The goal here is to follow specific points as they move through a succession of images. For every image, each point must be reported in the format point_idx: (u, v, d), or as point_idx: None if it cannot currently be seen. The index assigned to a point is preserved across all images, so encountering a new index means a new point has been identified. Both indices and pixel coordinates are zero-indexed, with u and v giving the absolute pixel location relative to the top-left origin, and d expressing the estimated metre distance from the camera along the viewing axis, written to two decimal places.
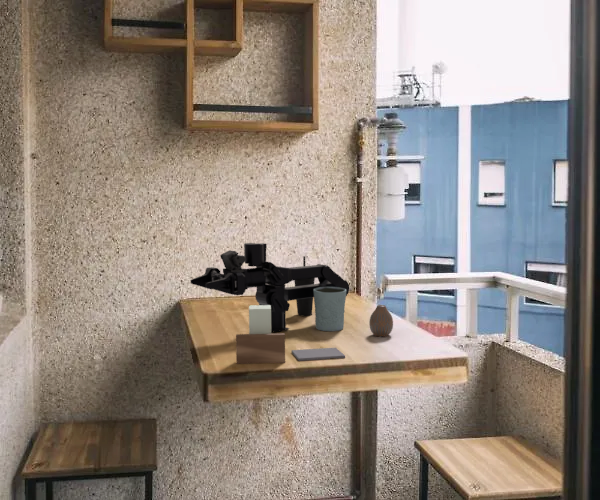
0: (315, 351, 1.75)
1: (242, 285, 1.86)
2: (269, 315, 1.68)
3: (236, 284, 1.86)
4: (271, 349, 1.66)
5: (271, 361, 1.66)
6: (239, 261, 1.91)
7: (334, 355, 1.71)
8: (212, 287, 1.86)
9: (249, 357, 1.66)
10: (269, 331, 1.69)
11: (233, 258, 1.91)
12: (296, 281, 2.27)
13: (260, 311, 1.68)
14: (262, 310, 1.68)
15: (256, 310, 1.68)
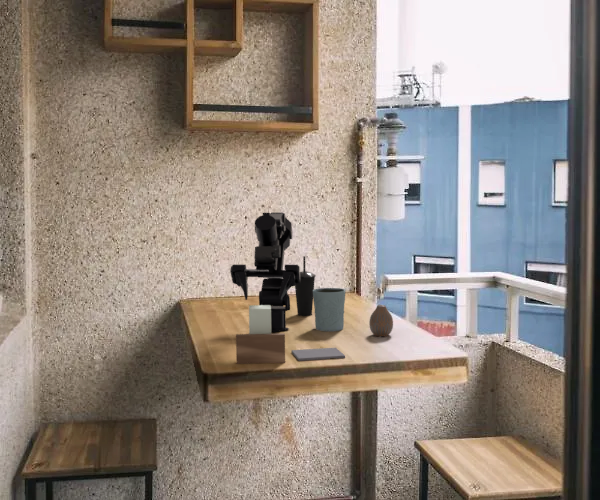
0: (315, 351, 1.75)
1: None
2: (269, 315, 1.68)
3: (296, 277, 1.83)
4: (271, 349, 1.66)
5: (271, 361, 1.66)
6: None
7: (334, 355, 1.71)
8: (283, 295, 1.80)
9: (249, 357, 1.66)
10: (269, 331, 1.69)
11: (275, 255, 1.80)
12: None
13: (260, 311, 1.68)
14: (262, 310, 1.68)
15: (256, 310, 1.68)
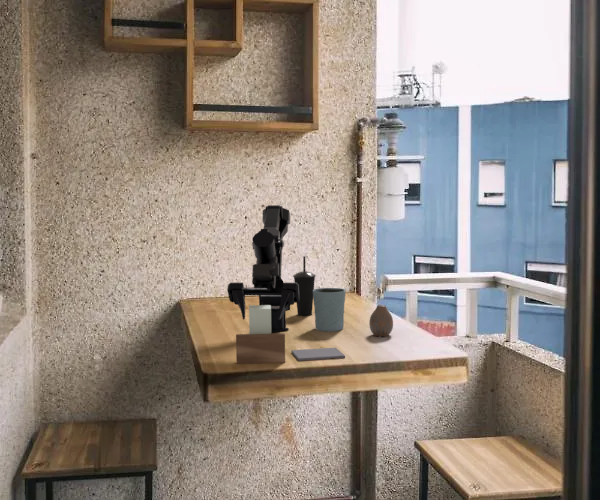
0: (315, 351, 1.75)
1: None
2: (269, 315, 1.68)
3: (295, 295, 1.77)
4: (271, 349, 1.66)
5: (271, 361, 1.66)
6: (278, 271, 1.76)
7: (334, 355, 1.71)
8: (282, 315, 1.74)
9: (249, 357, 1.66)
10: (269, 331, 1.69)
11: (273, 273, 1.74)
12: (296, 281, 2.27)
13: (260, 311, 1.68)
14: (262, 310, 1.68)
15: (256, 310, 1.68)
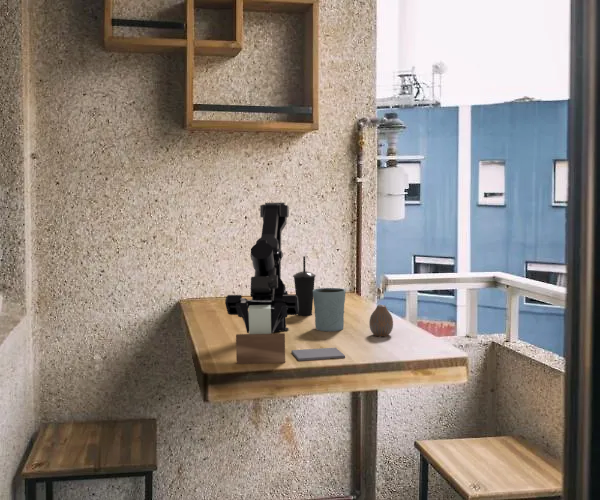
0: (315, 351, 1.75)
1: None
2: (269, 315, 1.68)
3: (294, 308, 1.74)
4: (271, 349, 1.66)
5: (271, 361, 1.66)
6: (277, 283, 1.72)
7: (334, 355, 1.71)
8: (275, 328, 1.71)
9: (249, 357, 1.66)
10: (269, 331, 1.69)
11: (272, 285, 1.71)
12: (296, 281, 2.27)
13: (260, 311, 1.68)
14: (262, 310, 1.68)
15: (256, 310, 1.68)
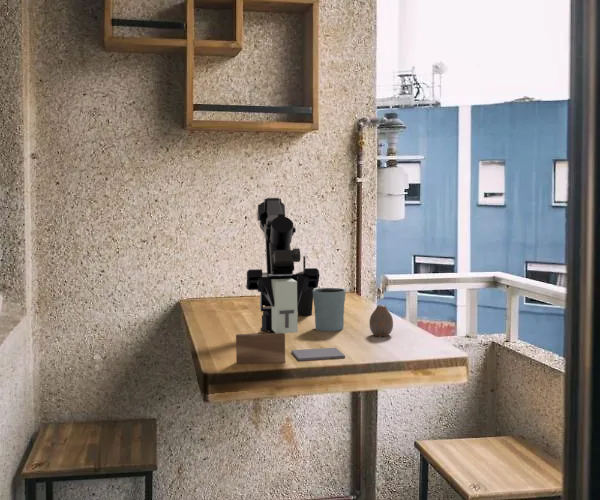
0: (315, 351, 1.75)
1: None
2: (295, 288, 1.69)
3: (315, 281, 1.76)
4: (271, 349, 1.66)
5: (271, 361, 1.66)
6: None
7: (334, 355, 1.71)
8: None
9: (249, 357, 1.66)
10: (295, 304, 1.69)
11: (296, 258, 1.71)
12: None
13: (286, 284, 1.68)
14: (288, 283, 1.68)
15: (282, 283, 1.68)
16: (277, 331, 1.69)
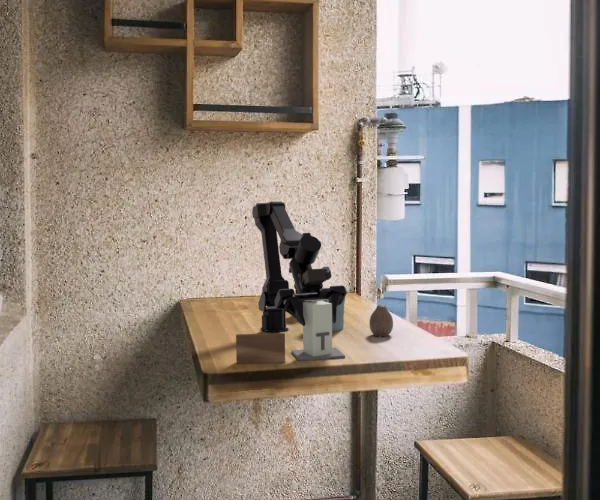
0: None
1: None
2: (330, 310, 1.71)
3: (341, 298, 1.79)
4: (271, 349, 1.66)
5: (271, 361, 1.66)
6: None
7: (334, 355, 1.71)
8: None
9: (249, 357, 1.66)
10: (330, 326, 1.71)
11: (327, 277, 1.74)
12: None
13: (322, 306, 1.70)
14: (324, 305, 1.70)
15: (319, 306, 1.70)
16: (314, 354, 1.70)
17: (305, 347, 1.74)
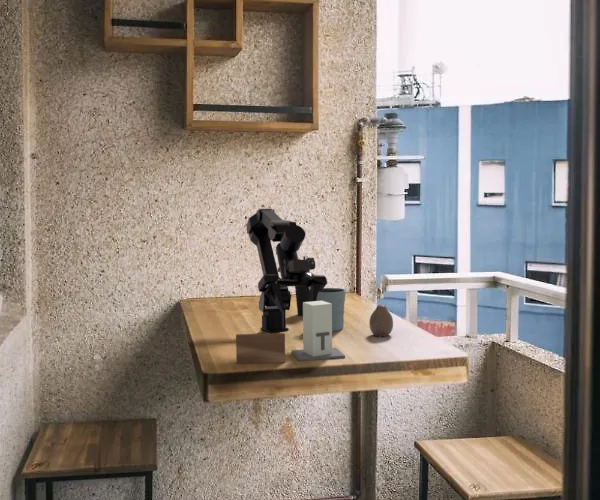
0: None
1: None
2: (330, 310, 1.71)
3: None
4: (271, 349, 1.66)
5: (271, 361, 1.66)
6: None
7: (334, 355, 1.71)
8: None
9: (249, 357, 1.66)
10: (330, 326, 1.71)
11: (311, 268, 1.82)
12: None
13: (322, 306, 1.70)
14: (324, 305, 1.70)
15: (319, 306, 1.70)
16: (314, 354, 1.70)
17: (305, 347, 1.74)
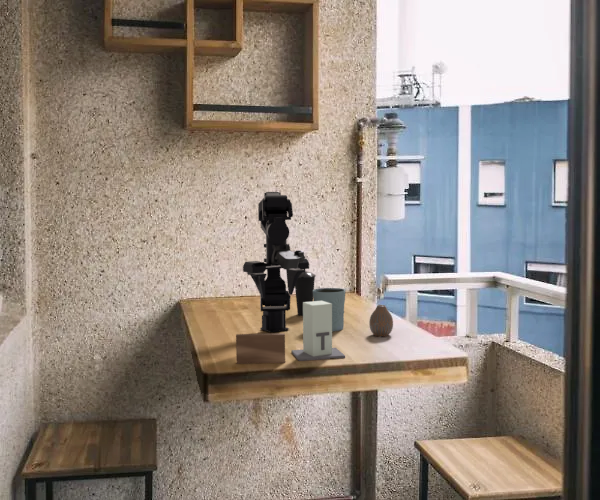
0: None
1: None
2: (330, 310, 1.71)
3: None
4: (271, 349, 1.66)
5: (271, 361, 1.66)
6: None
7: (334, 355, 1.71)
8: None
9: (249, 357, 1.66)
10: (330, 326, 1.71)
11: None
12: None
13: (322, 306, 1.70)
14: (324, 305, 1.70)
15: (319, 306, 1.70)
16: (314, 354, 1.70)
17: (305, 347, 1.74)
